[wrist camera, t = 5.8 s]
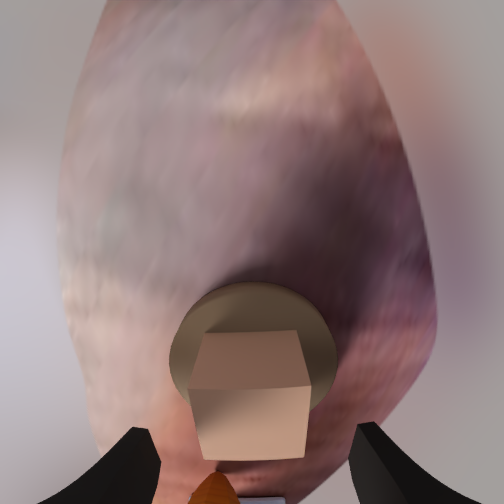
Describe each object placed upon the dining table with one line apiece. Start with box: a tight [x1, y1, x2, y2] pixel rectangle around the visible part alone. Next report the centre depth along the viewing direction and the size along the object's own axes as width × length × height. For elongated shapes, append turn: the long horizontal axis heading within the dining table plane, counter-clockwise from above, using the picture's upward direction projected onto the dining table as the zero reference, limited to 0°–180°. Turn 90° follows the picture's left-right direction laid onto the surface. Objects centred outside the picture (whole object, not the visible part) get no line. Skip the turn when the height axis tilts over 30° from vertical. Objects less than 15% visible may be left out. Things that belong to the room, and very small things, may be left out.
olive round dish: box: [169, 281, 338, 411], centre depth 14 cm, size 8×8×2 cm
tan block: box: [187, 330, 311, 460], centre depth 11 cm, size 4×4×4 cm
